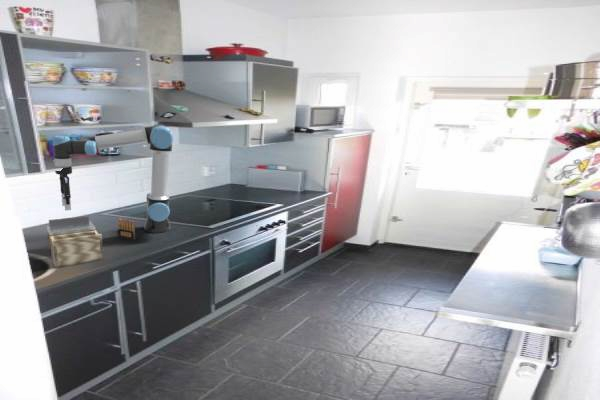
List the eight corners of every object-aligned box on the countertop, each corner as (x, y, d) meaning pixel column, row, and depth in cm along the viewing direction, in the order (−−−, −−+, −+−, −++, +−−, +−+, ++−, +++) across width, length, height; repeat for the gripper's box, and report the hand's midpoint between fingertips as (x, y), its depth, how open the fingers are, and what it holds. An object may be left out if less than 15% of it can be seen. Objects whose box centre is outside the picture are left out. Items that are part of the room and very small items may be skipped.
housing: (92, 241, 218) (90, 218, 215) (103, 259, 197) (101, 234, 194) (48, 248, 206) (46, 223, 203) (55, 268, 185) (53, 241, 182)
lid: (90, 222, 215) (90, 215, 214) (95, 229, 206) (95, 222, 205) (46, 227, 203) (46, 220, 202) (49, 235, 194) (48, 227, 193)
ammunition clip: (118, 237, 228) (117, 217, 225) (120, 236, 230) (119, 216, 227) (133, 240, 226) (133, 220, 223) (135, 239, 227) (135, 219, 224)
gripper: (52, 162, 212) (55, 203, 217) (57, 170, 195) (61, 214, 201) (68, 162, 216) (71, 202, 222) (75, 169, 200) (78, 212, 205)
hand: (66, 207), depth 211 cm, fingers open, 9 cm apart
